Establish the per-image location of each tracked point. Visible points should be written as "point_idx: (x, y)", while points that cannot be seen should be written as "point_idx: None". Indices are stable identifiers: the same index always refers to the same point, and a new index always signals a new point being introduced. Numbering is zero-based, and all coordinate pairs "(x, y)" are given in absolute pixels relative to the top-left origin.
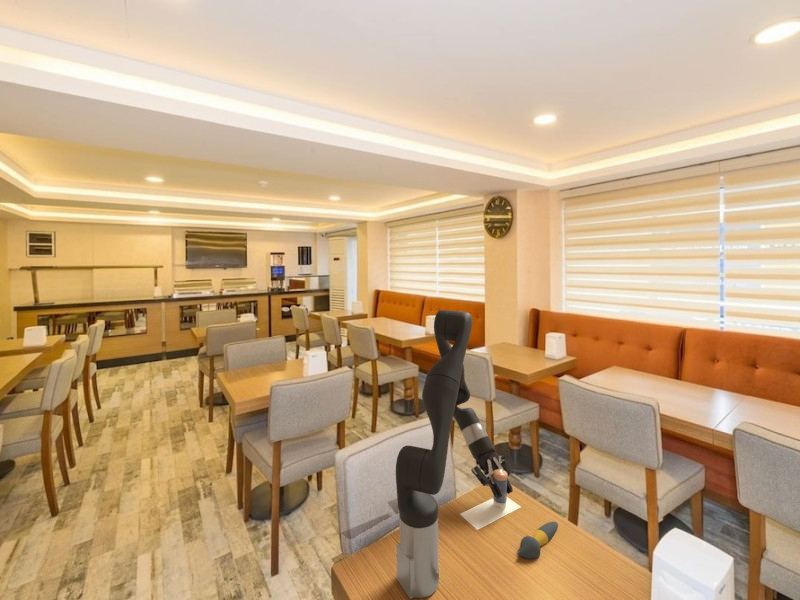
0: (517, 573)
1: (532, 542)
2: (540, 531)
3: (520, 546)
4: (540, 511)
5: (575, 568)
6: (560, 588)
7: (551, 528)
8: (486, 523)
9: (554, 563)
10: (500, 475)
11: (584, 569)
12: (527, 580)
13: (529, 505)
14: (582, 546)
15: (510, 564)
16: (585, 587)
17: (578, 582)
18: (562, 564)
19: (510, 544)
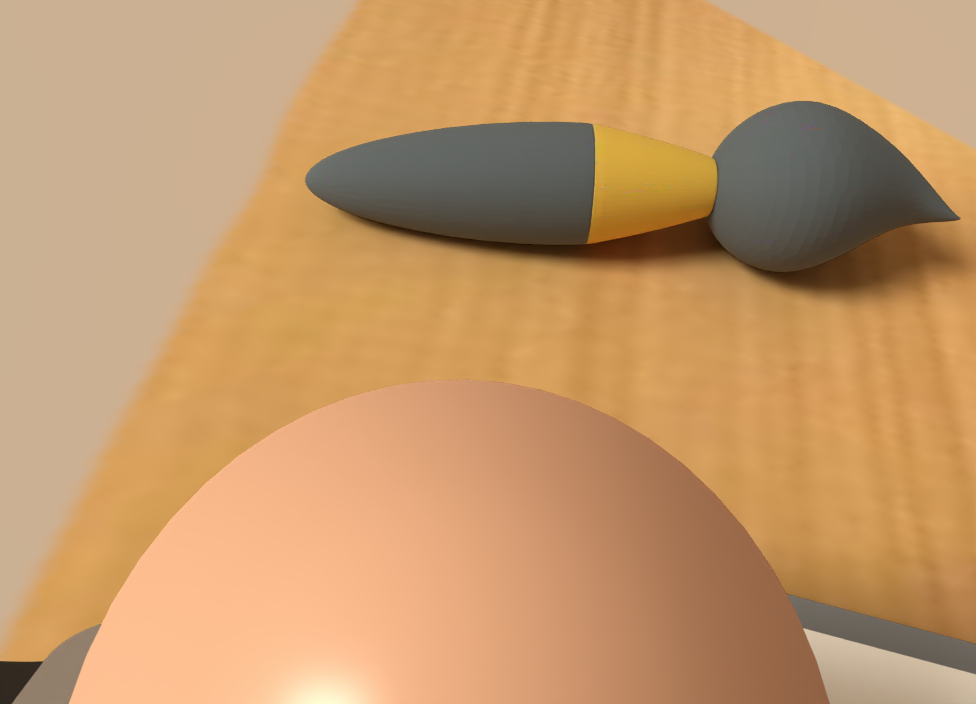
0: (960, 243)
1: (838, 111)
2: (610, 149)
3: (887, 216)
4: (174, 358)
5: (608, 57)
6: (802, 74)
7: (479, 125)
8: (900, 676)
9: (674, 129)
10: (642, 596)
11: (575, 31)
12: (936, 189)
13: (127, 481)
14: (400, 64)
15: (954, 301)
16: (684, 12)
17: (685, 34)
18: (641, 101)
19: (802, 382)
